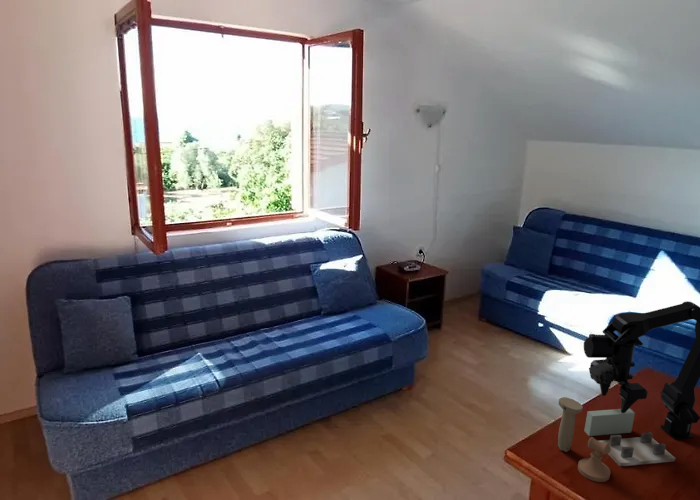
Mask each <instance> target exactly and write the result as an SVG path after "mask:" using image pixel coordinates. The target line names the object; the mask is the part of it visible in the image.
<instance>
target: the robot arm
mask: <svg viewBox="0 0 700 500" xmlns="http://www.w3.org/2000/svg"><path fill="white" fill-rule="evenodd" d="M690 320H694V321H696V322H695V326H694V332H695V339H694V342H693V344H692V346H691V348H690V350H689V352H688V355H687V356H686V359H685V361H684V363H683V365H682V366H681V368H680V371H679V374H678V375H677V377H676V379H675V381H673V382H671V383H669V382H665V383H664V386H663V389H662V390H661V391H660V393H659V394H660V399H661V402H662V403H663V404H664V407H665V408H666V409H667V410H668V412H667V414H666V417H665V418H664V423H663V424H661V425H659V426H660V427H659V428H660V429H662V431H664V432H666V433H667V434H668V435H669V436H670V437H671V438H673V439H675V440H683V439H694V437H695V436H694V434H692V433H691V430H692V425H693V424H697V423H698V422H699V420H700V415H699V414H698V413H697V412H696V411H695V410H694V406H695V403H696V395H695V394H696V393H695V388H696V387H697V384H698V382H699V379H700V306H699V305H697V304H695V302H692V301H683V302H682V303H679V304H675V305H672V306H668V307H664V308H659V309H656V310H653V311H647V312H643V313H641V312H623V313H618V314H616V315H615V316H614V318H613V320H612V321H611V322H610V323H609V324H608V325H607V326H606V327H605V328H604V329H603V330H602V334H594V333H590V334H588V337H587V338H585V340H584V341H583V352H584V354H585V356H586V357H587V358H592V359H594V360H592V361H591V362H590V366H589V368H588V371H589V375H590V379H592V380H593V381H594V382H595V383H596V384H598V385H599V388H600V392H601V396H602V397H604V396H606V395H607V394H608V392H609V389H610V388H611V385H612V383H613V382H617V383H618V384H619V385H620V387H619V392H620V393H618V395H619V396H620V397H621V404H620V409H621V412H622V413H625V412H626V411H627V410H628V409H629V408H630V409H631V407H632V406H633V405H634V404H635V403H636V402H637V401H638V400H644V399H645V400H646V399H647V397H648V393H649V391H648V390H647V389H646V388H645V387H644V386H642V385H641V384H640V383H638V382H630V381H628V380H633V375H632V374H631V373H630V372H631V370H632V369H631V368H633V367H635V365H636V363H635V362H634V361H633V358H634V357H633V356H634V352H635V351H634V350H635V347H636V346H643V345H644V342H642V341H641V340H640V339H639V338H642V337H643V336H645V335H646V334H648V332H649V331H651V330H654V329H658V328H663V327H666V326H671V325H674V324H679V323H682V322H686V321H690ZM615 331H616V332H617V333H618V334H616V333H615ZM595 358H596V359H595ZM597 358H598V359H597ZM599 358H600V359H599ZM602 358H603V359H602Z"/></svg>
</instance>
